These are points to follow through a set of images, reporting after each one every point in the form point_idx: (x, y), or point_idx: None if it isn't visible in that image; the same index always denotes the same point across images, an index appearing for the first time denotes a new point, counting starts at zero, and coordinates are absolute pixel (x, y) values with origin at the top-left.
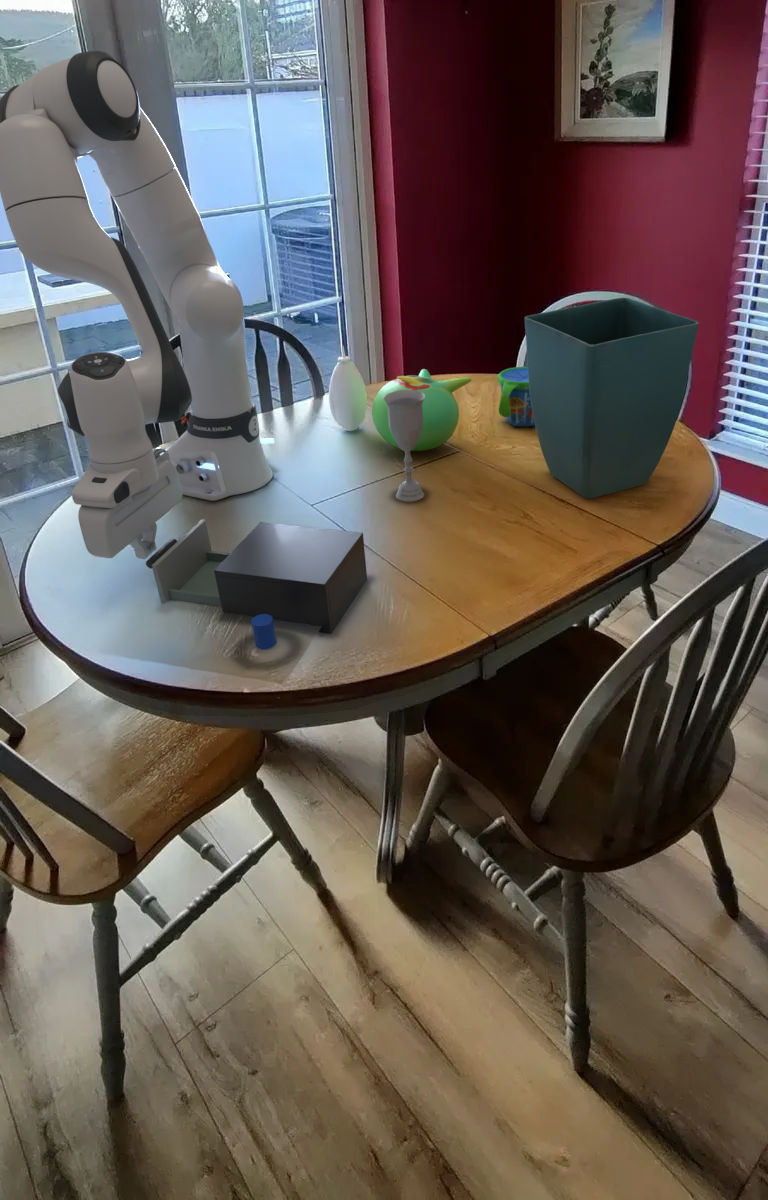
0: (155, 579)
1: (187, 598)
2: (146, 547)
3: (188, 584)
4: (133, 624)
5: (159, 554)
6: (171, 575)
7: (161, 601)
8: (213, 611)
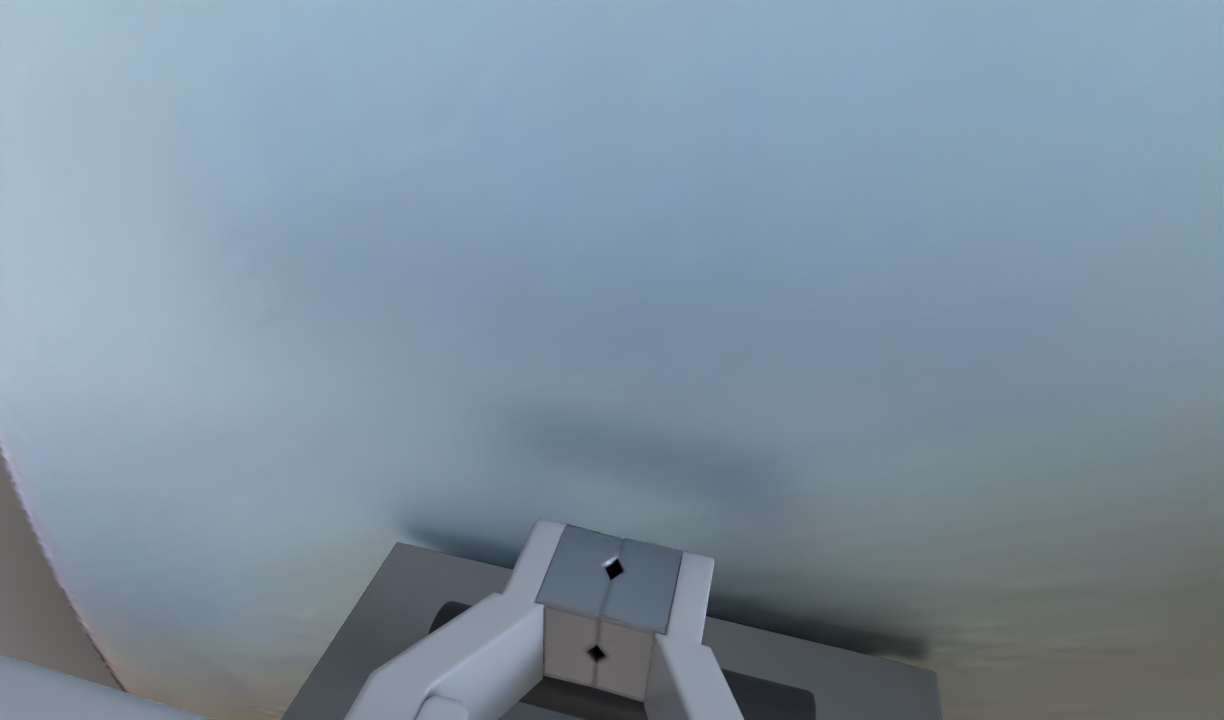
0: (302, 687)
1: None
2: (547, 670)
3: None
4: (248, 437)
5: (537, 706)
6: None
7: (384, 562)
8: None
